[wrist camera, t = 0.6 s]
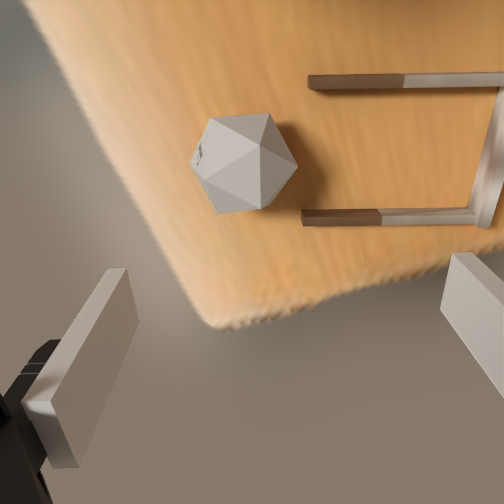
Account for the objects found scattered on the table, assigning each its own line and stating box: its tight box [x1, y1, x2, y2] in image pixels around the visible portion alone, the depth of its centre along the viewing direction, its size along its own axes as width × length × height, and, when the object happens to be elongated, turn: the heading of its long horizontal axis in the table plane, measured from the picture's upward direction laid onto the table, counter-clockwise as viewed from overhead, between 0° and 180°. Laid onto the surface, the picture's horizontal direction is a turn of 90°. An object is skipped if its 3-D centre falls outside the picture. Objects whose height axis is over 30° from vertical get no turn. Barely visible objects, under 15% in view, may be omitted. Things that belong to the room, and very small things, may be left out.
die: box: [189, 113, 298, 214], centre depth 34 cm, size 8×9×10 cm
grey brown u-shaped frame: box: [301, 72, 504, 228], centre depth 36 cm, size 14×18×3 cm
